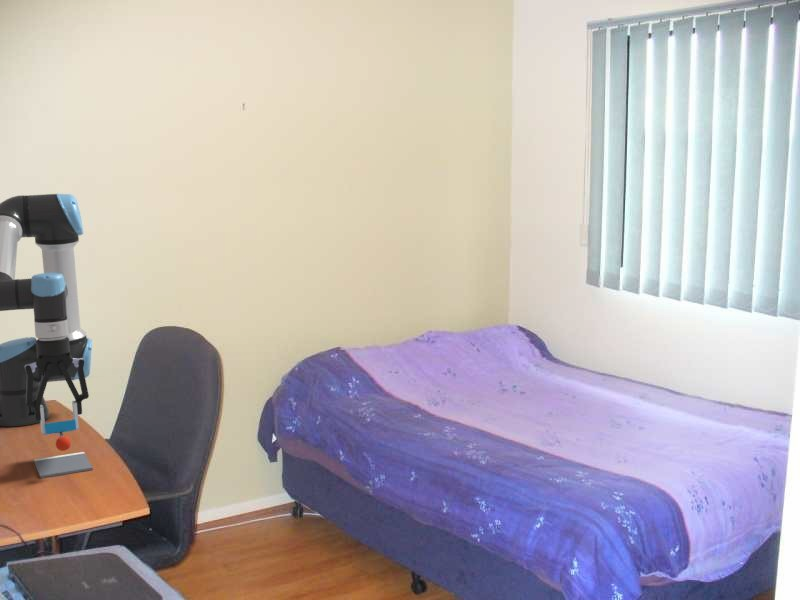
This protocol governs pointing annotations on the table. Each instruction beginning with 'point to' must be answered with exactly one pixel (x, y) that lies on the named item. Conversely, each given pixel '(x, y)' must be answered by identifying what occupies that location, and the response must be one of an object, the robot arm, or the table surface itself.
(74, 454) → the mat
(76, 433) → the table surface
